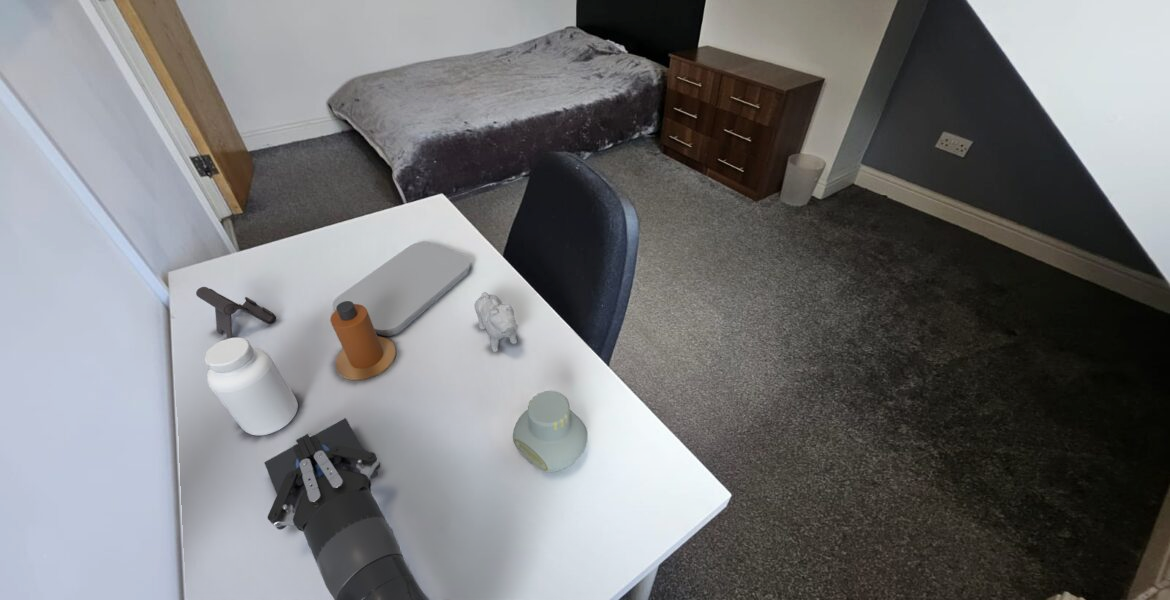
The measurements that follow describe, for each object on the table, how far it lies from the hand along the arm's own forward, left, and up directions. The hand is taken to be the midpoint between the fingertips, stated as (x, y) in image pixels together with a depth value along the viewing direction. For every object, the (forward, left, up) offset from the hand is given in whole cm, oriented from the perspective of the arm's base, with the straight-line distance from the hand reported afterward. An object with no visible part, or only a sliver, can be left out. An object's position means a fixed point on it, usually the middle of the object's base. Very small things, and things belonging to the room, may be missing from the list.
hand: (304, 440), depth 61 cm
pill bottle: (-3, +16, -9) cm, 18 cm away
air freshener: (+27, -17, -9) cm, 33 cm away
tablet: (+27, +31, -9) cm, 42 cm away
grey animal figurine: (+34, +7, -9) cm, 36 cm away
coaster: (+13, +18, -9) cm, 23 cm away
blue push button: (0, -2, -3) cm, 4 cm away
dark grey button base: (0, 0, -9) cm, 9 cm away
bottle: (+13, +18, -8) cm, 23 cm away
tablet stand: (-1, +41, -9) cm, 42 cm away
